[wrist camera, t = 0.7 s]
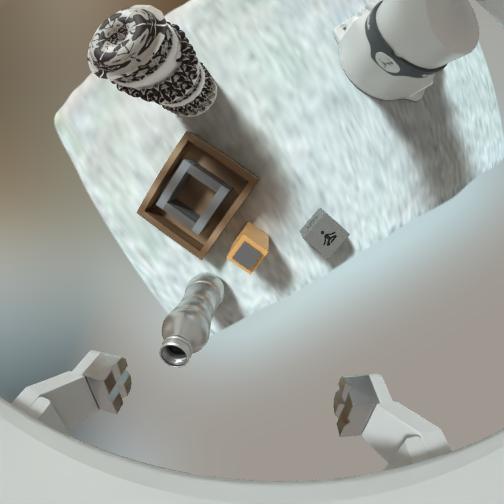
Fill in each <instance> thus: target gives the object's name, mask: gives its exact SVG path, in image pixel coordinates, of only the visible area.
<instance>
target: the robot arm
mask: <svg viewBox="0 0 504 504" xmlns="http://www.w3.org/2000/svg"><path fill="white" fill-rule="evenodd" d="M476 1H477V2H478V3H479V4H480V5H481V6H482V7H484V8H485V9H486V10H487V11H488V12H489V13H490V14H491V15H492V16H493V17H494V18H495V19H496V20H497V22H499V23H500V25H501V26H502V27H503V28H504V0H476ZM365 8H366V9H365V10H363V9H362V10H360V11H359V12H358V14H356V15H355V16H353V17H351V18H350V19H348V20H346V21H345V22H343V23H341V24H340V25H338V26H336V27H335V28H334V30H333V35H334V37H335V39H336V41H337V43H338V45H339V57H340V62H341V65H342V67H343V69H344V71H345V73H346V75H347V76H348V77H349V79H350V80H351V81H352V82H353V83H354V84H355V85H356V86H357V87H358V88H359V89H361V90H362V91H364V92H365V93H367V94H369V95H371V96H373V97H375V98H379V99H383V100H396V99H402V98H406V99H409V100H413V101H419V100H420V99H422V97H423V95H424V92H425V89H426V88H427V87H428V86H430V85H432V84H433V82H434V81H433V79H434V76H435V74H436V73H438V72H440V71H441V70H442V69H443V68H445V67H446V65H447V64H448V63H449V62H452V61H454V60H456V59H458V58H460V57H462V56H465V55H467V54H469V53H470V52H472V51H473V49H474V48H475V47H476V45H477V43H478V40H479V26H478V22H477V18H476V15H475V13H474V10H473V8H472V6H471V5H470V3H469V1H468V0H383V1H380V2H378V3H376V2H375V1H371V2H369V3H368V4H367V5H366V6H365ZM343 28H344V29H346V30H343ZM126 367H127V362H126V359H124V358H122V357H119V356H115V355H110V354H107V353H102V352H99V351H95V350H91V351H89V353H88V354H87V355H86V356H85V357H84V358H83V360H82V361H81V362H80V363H79V364H78V365H77V367H76V368H75V369H74V370H73V371H72V372H70V371H68V372H66V373H63V374H60V375H58V376H55V377H53V378H50V379H48V380H45V381H42V382H39V383H37V384H34V385H31V386H29V387H26V388H25V389H24V390H23V391H22V392H21V394H20V395H19V396H18V397H17V398H16V399H15V400H14V401H13V403H12V404H10V403H8V402H6V401H5V400H3V399H2V398H0V504H504V429H502V430H500V431H498V432H496V433H494V434H492V435H490V436H488V437H486V438H484V439H481V440H479V441H477V442H475V443H472V444H470V445H467V446H465V447H462V448H460V449H457V450H455V451H451V449H450V447H449V445H448V443H447V441H446V439H445V437H444V435H443V433H442V431H441V429H440V428H438V427H437V426H435V425H433V424H432V423H430V422H429V421H427V420H425V419H424V418H422V417H421V416H419V415H418V414H416V413H414V412H413V411H411V410H410V409H408V408H407V407H405V406H404V405H402V404H400V403H399V402H397V401H395V402H394V401H393V399H392V397H391V395H390V393H389V391H388V388H387V386H386V384H385V382H384V380H383V378H382V376H381V374H379V373H377V374H367V375H355V376H342V377H341V378H340V381H339V387H340V389H339V390H338V391H337V392H336V394H335V398H334V412H335V415H336V416H337V417H338V418H339V420H338V422H337V427H338V431H339V436H340V437H344V436H357V435H361V436H362V437H363V439H364V440H365V441H366V442H367V443H368V444H370V446H371V447H373V448H374V449H375V450H376V451H377V452H378V453H379V454H380V455H381V456H382V457H383V458H384V459H385V460H386V461H387V462H388V463H389V464H388V465H387V466H386V468H385V469H384V470H383V471H381V472H376V473H370V474H364V475H358V476H351V477H344V478H334V479H324V480H308V481H255V480H240V479H228V478H219V477H211V476H205V475H198V474H192V473H187V472H181V471H176V470H171V469H167V468H162V467H158V466H154V465H150V464H147V463H143V462H139V461H136V460H133V459H129V458H126V457H123V456H120V455H116V454H114V453H111V452H108V451H105V450H102V449H99V448H97V447H94V446H92V445H89V444H87V443H85V442H82V441H80V440H77V439H75V438H73V437H71V435H70V434H69V432H68V431H67V430H68V429H70V428H71V427H73V426H75V425H76V424H78V423H79V422H81V421H83V420H84V419H86V418H87V417H89V416H91V415H92V414H94V413H95V412H97V411H98V410H99V409H100V410H104V411H107V412H111V413H114V414H117V413H118V412H119V410H120V408H121V406H122V404H123V400H122V398H124V397H126V396H127V395H128V394H129V392H130V389H131V376H130V374H129V373H128V371H127V370H126Z"/></svg>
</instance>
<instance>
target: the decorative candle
mask: <svg viewBox="0 0 504 504" xmlns="http://www.w3.org/2000/svg"><path fill="white" fill-rule="evenodd" d="M188 43H189V41H188V39H187V38H186V37H185V33H184V32H183V31H182V30H179V26H178V25H175V24H172V25H171V24H170V23H169V22H166V20H165V18H164V16H163V14H162V12H161V11H160V10H158V9H156V8H154V7H153V6H151V5H135V6H132V7H128V8H125V9H122V10H120V11H119V12H117V13H115V14H114V15H112V16H111V17H109V18H108V19H106V20H105V21H104V22H103V23H102V24H101V25H100V27H99V28H98V29H97V30H96V32H95V34H94V36H93V38H92V41H91V43H90V45H89V50H88V57H87V58H88V63H89V66H90V69H91V71H92V72H93V73H94V74H96V75H97V76H98V77H99V78H105V79H110V80H111V82H112V83H113V84H117V89H118V90H119V91H124V92H126V93H127V94H128V95H132V96H133V97H141V98H142V99H143V100H145V101H148V102H150V101H152V102H156V103H158V104H159V105H162V106H163V108H164V109H167V110H169V111H171V112H172V113H175V114H177V115H181V116H184V117H194V116H198V115H200V114H202V113H204V112H206V111H207V110H208V109H209V108H210V107H211V106H212V105H213V104H214V101H215V99H216V97H217V85H216V83H215V81H214V79H213V78H212V76H211V75H210V73H209V72H208V70H207V69H206V68H205V66H203V63H201V62H199V60H198V58H197V56H196V53H195V51H194V50H193V46H192V45H191V44H188Z"/></svg>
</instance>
